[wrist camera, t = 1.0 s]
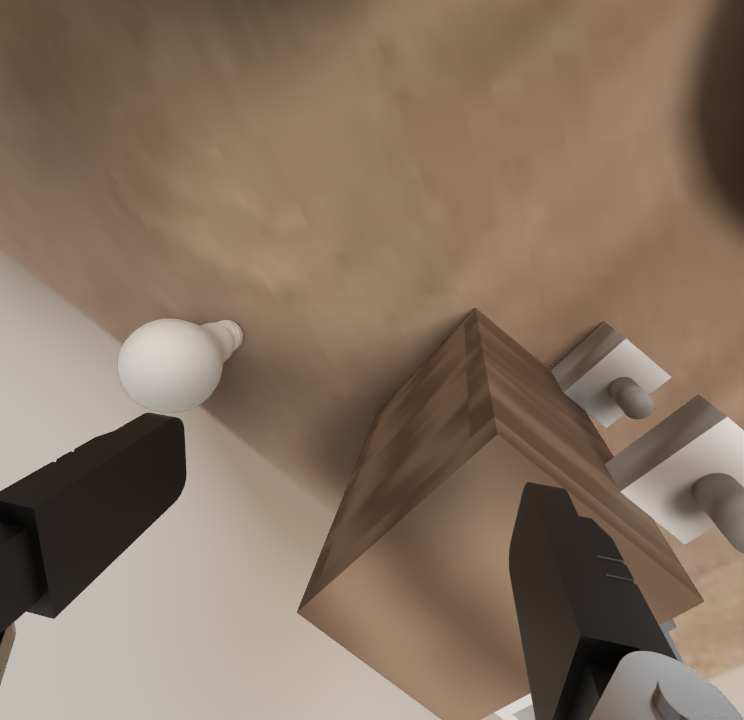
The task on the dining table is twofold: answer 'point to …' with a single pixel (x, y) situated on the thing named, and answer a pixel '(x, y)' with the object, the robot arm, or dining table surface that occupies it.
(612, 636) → the robot arm
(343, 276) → the dining table surface
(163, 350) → the lightbulb
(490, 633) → the cabinet
